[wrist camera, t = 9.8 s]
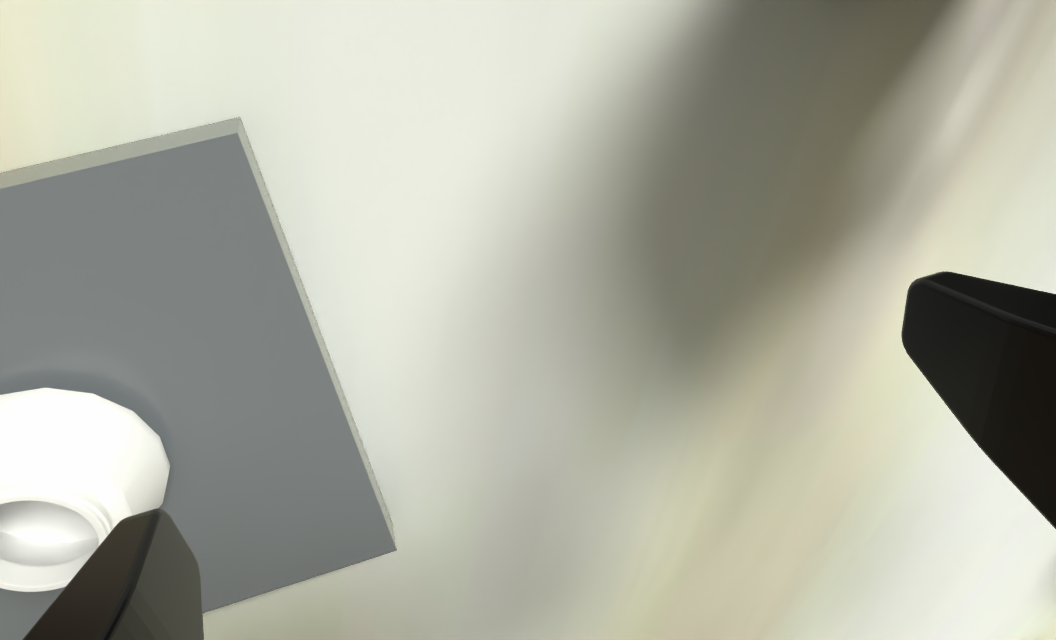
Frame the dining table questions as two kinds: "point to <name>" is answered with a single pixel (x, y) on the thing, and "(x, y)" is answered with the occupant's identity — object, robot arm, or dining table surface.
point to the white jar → (69, 481)
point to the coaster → (189, 353)
